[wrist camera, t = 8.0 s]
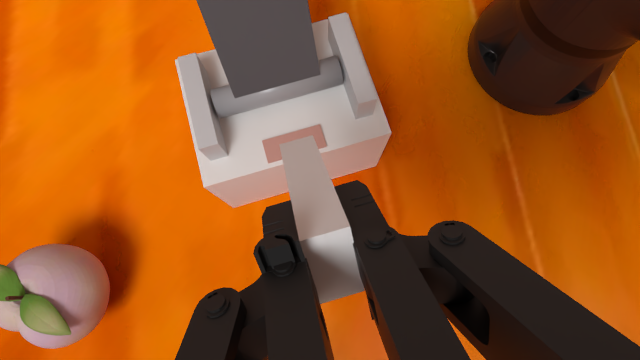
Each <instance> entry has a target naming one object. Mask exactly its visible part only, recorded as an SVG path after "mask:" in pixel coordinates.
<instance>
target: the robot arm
mask: <svg viewBox="0 0 640 360" xmlns="http://www.w3.org/2000/svg"><path fill="white" fill-rule="evenodd" d="M638 40H639V41H640V0H494V1H492V2H491V3H490V4H489V5H488V6H487V8H486V9H485V10H484V11H483V13H482V14H481V16H480V17H479V19H478V21H477V22H476V24H475V26H474V27H473V29H472V32H471V34H470V38H469V43H468V57H469V62H470V66H471V69H472V71H473V74H474V76H475V77H476V79H477V81H478V82H479V84H480V85H481V86H482V88H483V89H484V90H485V91H486V92H487V93H488V94H489V95H490V96H491V97H493V98H494V99H495V100H497V101H498V102H500V103H501V104H503V105H505V106H507V107H509V108H511V109H513V110H516V111H519V112H522V113H527V114H532V115H552V114H558V113H562V112H565V111H568V110H570V109H572V108H574V107H576V106H577V105H579V104H580V103H582V102H583V101H585V100H586V99H588V98H589V97H591V96H592V95H593V94H595V93H596V92H597V91H598V90H599V89H600V88H601V87H602V86H603V84H604V83H605V82H606V80H607V79H608V77H609V76H610V74H611V73H612V71H613V69H614V68H615V66H616V65H617V63H618V62H619V60H620V59H621V57H622V56H623V54H624V53H625V51H626V49H627V48H629V47H630V46H632V45H633V44H634V43H635V42H637V41H638ZM279 145H280V150H281V155H282V160H283V165H284V170H285V174H286V179H287V184H288V189H289V194H290V198H291V200H290V201H286V202H283V203H279V204H276V205H272V206H269V207H266V209H265V212H264V214H263V216H262V224H263V234H264V235H263V236H264V238H263V239H261V240H260V241H259V242H258V244H257V245H256V246H255V249H254V253H253V254H254V256H255V258H256V261H257V263H258V265H259V268H260V270H261V273H262V275H261V276H260V278H259V279H258V280H257V281H255V282H254V283H253V284H251V285H250V286H248V287H247V288H245V289H243V290H242V291H240V292H238V291H236V290H234V289H232V288H220V289H216V290H214V291H212V292H210V293H208V294H207V295H206V296H205V297H204V298H202V299H201V300H200V301H199V303H198V305H197V306H196V308H195V310H194V313H193V315H192V318H191V320H190V323H189V325H188V328H187V330H186V333H185V335H184V338H183V340H182V343H181V346H180V348H179V351H178V353H177V356H176V358H175V360H334V357H333V353H332V349H331V344H330V340H329V336H328V332H327V327H326V323H325V319H324V316H323V313H322V309H321V306H320V304H322V303H325V302H328V301H332V300H335V299H338V298H342V297H345V296H348V295H352V294H355V293H358V292H362V291H366V294H367V299H368V303H369V308H370V312H371V317H372V320H373V319H374V320H375V323H376V326H377V328H378V331H379V334H380V336H381V339H382V342H383V345H384V347H385V350H386V353H387V355H388V358H389V360H471V359H470V358H469V356H468V354H467V352H466V351H465V349H464V347H463V345H462V344H461V342H460V340H459V338H458V337H457V335H456V333H455V331H454V330H453V328H452V326H451V324H450V323H449V321H448V319H449V320H450V321H451V323H452V324H453V325H454V326H455V327H456V328H457V329H458V330H459V331H460V332H461V333H462V334H463V335H464V336H465V337H466V338H467V340H468V341H469V342H470V343H471V344H472V345H473V346H474V347H475V348H476V349H477V350H478V351H479V352H480V353H481V354H482V355H483V357H484V358H485V359H486V360H640V347H639V346H638V345H637V344H635V343H634V342H632V341H631V340H630V339H628V338H627V337H625V336H624V335H623V334H621V333H620V332H618V331H617V330H616V329H614V328H613V327H611V326H610V325H609V324H607V323H606V322H604V321H603V320H602V319H600V318H599V317H597V316H596V315H595V314H593V313H592V312H590V311H589V310H588V309H586V308H585V307H583V306H582V305H581V304H579V303H578V302H576V301H575V300H574V299H572V298H571V297H569V296H568V295H567V294H565V293H564V292H562V291H561V290H559V289H558V288H557V287H555V286H554V285H552V284H551V283H550V282H548V281H547V280H545V279H544V278H543V277H541V276H540V275H538V274H537V273H536V272H534V271H533V270H531V269H530V268H529V267H527V266H526V265H524V264H523V263H522V262H520V261H519V260H517V259H516V258H515V257H513V256H512V255H510V254H509V253H508V252H506V251H505V250H503V249H502V248H501V247H499V246H498V245H496V244H495V243H494V242H492V241H491V240H489V239H488V238H487V237H485V236H484V235H482V234H481V233H480V232H478V231H477V230H475V229H474V228H473V227H471V226H469V225H467V224H465V223H463V222H459V221H443V222H440V223H437V224H435V225H434V226H433V227H431V228H430V230H429V232H428V236H406V235H401V234H399V233H398V232H397V231H396V230H395V229H393V228H391V227H389V225H388V224H387V222H386V220H385V218H384V217H383V215H382V213H381V211H380V209H379V208H378V206H377V204H376V202H375V200H374V199H373V197H372V195H371V193H370V191H369V190H368V188H367V186H366V185H364V184H363V183H361V182H359V181H358V180H356V181H353V182H349V183H346V184H342V185H339V186H335V187H334V186H333V183H332V181H331V178H330V176H329V173H328V171H327V169H326V166H325V164H324V161H323V159H322V156H321V154H320V152H319V149H318V147H317V144H316V142H315V139H314V137H313V135H311V136H308V137H304V138H300V139H297V140H293V141H290V142H286V143H283V144H279ZM364 288H365V290H364ZM447 318H448V319H447Z"/></svg>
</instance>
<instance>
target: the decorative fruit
mask: <svg viewBox="0 0 640 360" xmlns="http://www.w3.org/2000/svg"><path fill="white" fill-rule="evenodd" d="M109 296H110V283H109V278H108V275H107V272H106V270H105V268H104V266H103V264H102V263H101V261H100V260H99V259H98V258H97V257H95V256H94V255H93V254H92V253H90V252H88V251H86V250H84V249H82V248H80V247H77V246H73V245H66V244H47V245H42V246H37V247H34V248H32V249H29V250H27V251H25V252H23V253H22V254H20V255H19V256H18V257H16V258H15V259H14V260H13V261H11V262H10V263H9V264H8V265H7V266H4V265H1V264H0V327H2V328H4V329H6V330H10V331H20V333H21V335H22V336H23V337H24V338H25V339H26V340H27V341H29V342H30V343H32V344H34V345H36V346H39V347H42V348H60V347H65V346H68V345H70V344H73V343H75V342H77V341H79V340H80V339H82V338H84V337H85V336H86V335H88V334H89V333H90V332H91V331H92V330H93V329H94V328H95V327H96V326H97V325H98V324H99V322H100V321H101V319H102V318H103V316H104V314H105V312H106V309H107V306H108V302H109Z"/></svg>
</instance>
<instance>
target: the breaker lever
mask: <svg viewBox="0 0 640 360" xmlns="http://www.w3.org/2000/svg"><path fill="white" fill-rule="evenodd" d="M197 3H198V5H199V8H200V10H201V13H202V16H203V18H204V21H205V23H206V26H207V28H208V31H209V34H210V36H211V39H212V41H213V44H214V47H215V49H216V52H217V54H218V57H219V59H220V62H221V65H222V67H223V70H224V72H225V75H226V77H227V80H228V83H229V85H225V86H222V87H218V88H214V89H211V90H210V92H211V97H212V101H213V104H214V107H215V110H216V112H217V114H218V116H219V118H220V119H221V118H224V117H228V116H232V115H235V114H239V113H242V112H246V111H250V110H253V109H257V108H260V107H264V106H267V105H271V104H275V103H278V102H282V101H285V100H289V99H293V98H296V97H300V96H303V95H307V94H310V93H314V92H318V91H321V90H325V89H328V88H332V87H336V86H339V85H342V84H343V76H342V71H341V67H340V63H339V61H338V58H337V56H336V55H334V56H331V57H327V58H324V59H320V60H318V57H317V52H316V46H315V40H314V35H313V29H312V23H311V18H310V12H309V6H308V0H197Z"/></svg>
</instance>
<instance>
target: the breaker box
mask: <svg viewBox="0 0 640 360" xmlns="http://www.w3.org/2000/svg"><path fill="white" fill-rule="evenodd" d="M312 29H313V35H314V40H315V46H316V52H317V57H318V60H320V59H324V58H327V57H331V56H334V55H336V56H337V58H338V61H339V63H340V67H341V71H342V76H343V84H342V85H339V86H336V87H332V88H328V89H325V90H321V91H318V92H314V93H310V94H307V95H303V96H300V97H296V98H293V99H289V100H285V101H282V102H278V103H275V104H271V105H267V106H264V107H260V108H257V109H253V110H250V111H246V112H242V113H239V114H235V115H232V116H228V117H224V118H221V119H220V118H219V116H218V114H217V112H216V110H215V107H214V104H213V101H212V97H211V92H210V90H211V89H214V88H218V87H222V86H225V85H229V83H228V80H227V77H226V75H225V72H224V70H223V67H222V65H221V62H220V59H219V57H218V54H217V52H216V49H214V50H211V51H207V52H203V53H199V54H196V53H192V54H189V55H185V56H181V57H178V59H177V60H175V63H176V67H177V72H178V76H179V80H180V85H181V89H182V94H183V98H184V102H185V107H186V111H187V116H188V120H189V124H190V129H191V133H192V138H193V142H194V146H195V151H196V155H197V160H198V164H199V168H200V173H201V177H202V182H203V186H204V188H206V189H207V190H209V191H210V192H211V193H213V194H214V195H216V196H217V197H219V198H220V199H221V200H223V201H224V202H226V203H227V204H229V205H230V206H232V207H233V208H235V207H238V206H242V205H245V204H248V203H252V202H255V201H259V200H262V199H265V198H269V197H272V196H276V195H279V194H283V193H286V192H289V189H288V184H287V179H286V174H285V170H284V165H283V160H282V155H281V150H280V145H279V144H283V143H286V142H290V141H293V140H297V139H300V138H304V137H308V136H311V135H313V137H314V139H315V142H316V144H317V147H318V149H319V152H320V154H321V156H322V159H323V161H324V164H325V166H326V169H327V171H328V173H329V176H330V178H331V179H334V178H337V177H341V176H344V175H347V174H351V173H354V172H358V171H361V170H364V169H368V168H371V167H375V166H376V165H377V163H378V161H379V159H380V157H381V155H382V153H383V150H384V148H385V146H386V144H387V142H388V140H389V138H390V135H391V133H392V132H391V130H390V127H389V124H388V121H387V119H386V116H385V113H384V111H383V108H382V105H381V102H380V100H379V97H378V94H377V91H376V89H375V86H374V83H373V80H372V78H371V75H370V72H369V70H368V67H367V64H366V61H365V59H364V56H363V53H362V50H361V48H360V45H359V42H358V40H357V37H356V34H355V31H354V29H353V26H352V23H351V20H350V18H349V15H348V14H346V12H345V13H341V14H338V15H334V16H330V17H328V19H326V20H322V21H318V22H315V23H312Z"/></svg>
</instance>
